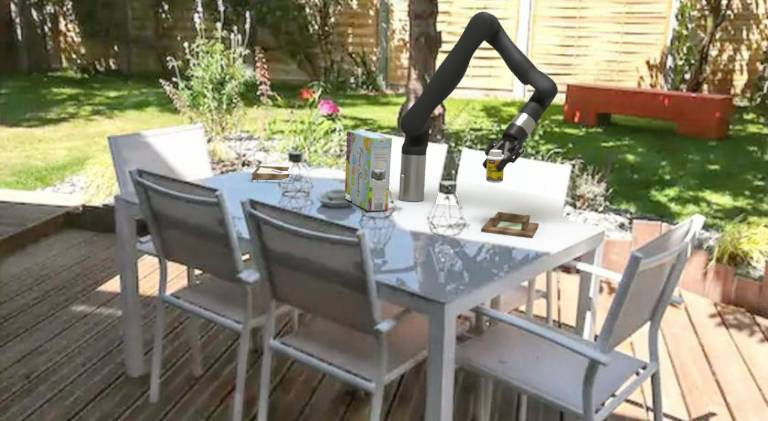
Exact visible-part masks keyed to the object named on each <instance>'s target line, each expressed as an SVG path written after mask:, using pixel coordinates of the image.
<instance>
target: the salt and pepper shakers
mask: <svg viewBox="0 0 768 421" xmlns="http://www.w3.org/2000/svg"><path fill="white" fill-rule="evenodd" d="M257 173H271V174H281V173H283V172H282V171H279V170H275V169H269V168H262V167H260V169H259V171H257Z"/></svg>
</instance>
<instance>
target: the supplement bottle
mask: <svg viewBox="0 0 768 421" xmlns="http://www.w3.org/2000/svg"><path fill="white" fill-rule="evenodd" d="M489 153H490V156H488V157H487V156H486V158H487V168H486V171H485V180H486V182H487V183H492V184H493V183H495V184H496V183H502V182H504V172H505V170H504V169H505V168H504V169H503V170H502V171H501V172H499V171H498V170H497V169H496V167H497V165H498V164H499V162H500V161H501V160H502V159H503V157H504V155H502V151H501V150H490V151H489Z"/></svg>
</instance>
